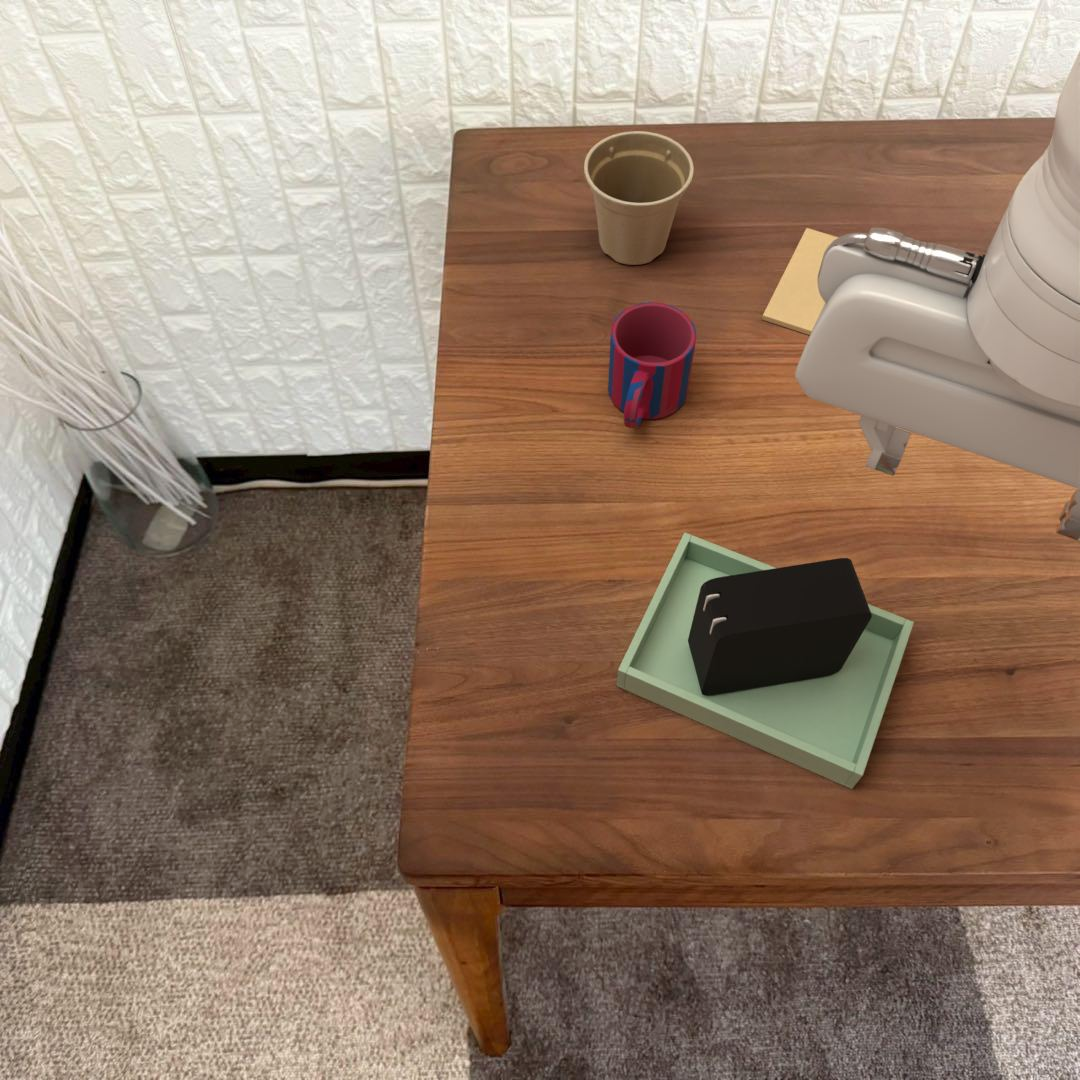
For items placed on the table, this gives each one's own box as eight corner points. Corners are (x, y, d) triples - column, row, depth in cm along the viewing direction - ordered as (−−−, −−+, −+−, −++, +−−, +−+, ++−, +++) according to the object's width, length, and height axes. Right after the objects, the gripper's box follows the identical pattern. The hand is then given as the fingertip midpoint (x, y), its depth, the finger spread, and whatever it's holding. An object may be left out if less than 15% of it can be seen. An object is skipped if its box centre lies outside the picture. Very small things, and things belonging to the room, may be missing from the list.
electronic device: (838, 675, 71) (876, 612, 63) (700, 698, 71) (718, 637, 62) (820, 623, 73) (854, 554, 65) (686, 644, 73) (702, 578, 64)
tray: (902, 639, 73) (914, 621, 71) (852, 789, 68) (862, 776, 65) (680, 551, 77) (684, 531, 75) (615, 686, 72) (617, 669, 69)
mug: (698, 372, 86) (708, 316, 80) (656, 460, 82) (663, 408, 76) (625, 348, 88) (629, 292, 82) (580, 434, 83) (581, 380, 77)
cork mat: (954, 277, 91) (957, 273, 91) (918, 371, 86) (921, 367, 85) (805, 232, 94) (806, 227, 94) (761, 319, 89) (762, 315, 89)
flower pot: (701, 261, 93) (713, 185, 85) (608, 292, 91) (611, 216, 84) (656, 197, 97) (664, 119, 90) (566, 225, 96) (566, 148, 88)
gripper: (809, 267, 40) (755, 469, 52) (1386, 443, 35) (1179, 622, 47) (857, 169, 43) (795, 381, 54) (1396, 318, 37) (1198, 517, 49)
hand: (975, 494), depth 50 cm, fingers open, 8 cm apart
